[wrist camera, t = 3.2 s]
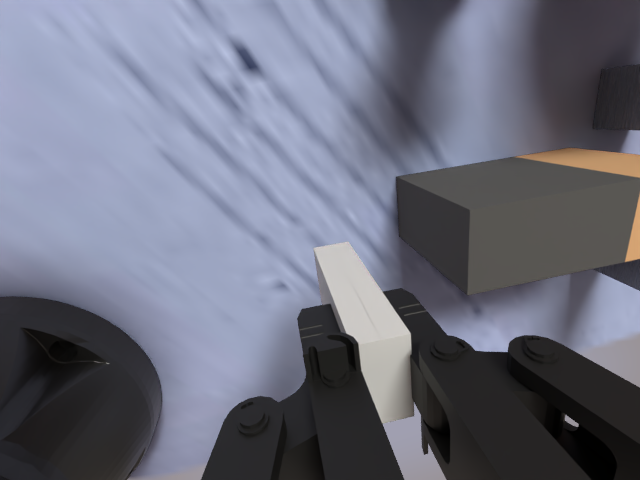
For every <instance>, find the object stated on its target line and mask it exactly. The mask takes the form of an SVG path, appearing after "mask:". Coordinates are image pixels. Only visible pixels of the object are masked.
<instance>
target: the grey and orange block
mask: <svg viewBox="0 0 640 480" xmlns="http://www.w3.org/2000/svg"><path fill="white" fill-rule="evenodd" d="M396 181H397V201H398V222H399V237H401V238H402V239H403V240H404V241H405V242H406V243H407V244H409V245H410V246H411V247H412V248H413V249H414V250H416V251H417V252H418V253H419V254H420V255H421V256H422V257H424V258H425V259H426V260H427V261H428V262H429V263H431V264H432V265H433V266H434V267H435V268H436V269H437V270H439V271H440V272H441V273H442V274H443V275H444V276H446V277H447V278H448V279H449V280H450V281H451V282H452V283H454V284H455V285H456V286H457V287H458V288H459V289H461V290H462V291H463V292H464V293H465V294H466V295H472V294H477V293H481V292H486V291H491V290H495V289H500V288H505V287H510V286H514V285H519V284H524V283H528V282H533V281H538V280H542V279H547V278H552V277H557V276H561V275H566V274H571V273H575V272H580V271H585V270H589V269H594V268H599V267H604V266H608V265H613V264H618V263H622V262H627V261H632V260H637V259H640V155H635V154H626V153H616V152H607V151H598V150H588V149H579V148H564V149H558V150H552V151H546V152H540V153H534V154H528V155H522V156H516V157H510V158H504V159H498V160H492V161H487V162H481V163H475V164H469V165H463V166H457V167H451V168H445V169H439V170H433V171H427V172H421V173H415V174H409V175H403V176H397V177H396Z"/></svg>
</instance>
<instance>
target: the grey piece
mask: <svg viewBox="0 0 640 480" xmlns="http://www.w3.org/2000/svg"><path fill="white" fill-rule="evenodd" d="M593 129H617V130H640V64H636V65H629V66H622V67H615V68H608V69H602V71H601V78H600V84H599V91H598V98H597V104H596V111H595V117H594V124H593ZM594 270H596V271H598V272H600V273H602V274H605V275H607V276H609V277H611V278H613V279H615V280H618V281H620V282H622V283H624V284H626V285H628V286H631V287H633V288H635V289H637V290H639V291H640V259H637V260H632V261H627V262H622V263H618V264H613V265H608V266H604V267H599V268H594Z"/></svg>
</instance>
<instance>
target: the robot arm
mask: <svg viewBox="0 0 640 480" xmlns="http://www.w3.org/2000/svg"><path fill="white" fill-rule="evenodd" d="M314 255H315V262H316V269H317V275H318V282H319V289H320V295H321V302H322V305H320V306H315V307H310V308H305V309H302V310H301V312H300V314H299V316H298V318H297V320H298V326H299V331H300V337H301V343H302V349H303V357H304V363H305V368H306V378H305V381H304V383H303V384H302V386H301V388H300V389H299V390H297V391H296V392H295V393H294V394H293V395H291V396H290V397H288V398H286V399H284V400H282V401H281V402H279V403H278V402H277V401H275V400H274V399H272V398H270V397H262V396H259V397H254V398H249V399H247V400H245V401H243V402H241V403H239V404H238V405H237V406H236V407H234V408H233V409H232V410H231V411H230V412H229V414H228V415H227V417H226V419H225V420H224V422H223V425H222V427H221V430H220V433H219V435H218V438H217V440H216V443H215V445H214V448H213V450H212V453H211V456H210V458H209V461H208V463H207V466H206V468H205V471H204V474H203V477H202V479H201V480H404V478H403V475H402V473H401V470H400V468H399V465H398V463H397V460H396V458H395V455H394V453H393V450H392V448H391V445H390V442H389V440H388V437H387V435H386V432H385V430H384V427H383V423H387V422H391V421H396V420H399V419H404V418H407V417H412V416H414V402H415V404H416V406H417V408H418V410H419V412H420V414H421V432H422V448H423V452H424V455H425V454H428V444H429V446H430V447H431V450H432V452H433V454H434V456H435V458H436V460H437V462H438V464H439V465H440V467H441V469H442V472H443V473H444V475H445V477H446V479H447V480H640V388H639V387H637V386H636V385H634V384H632V383H630V382H629V381H627V380H625V379H623V378H621V377H620V376H618V375H616V374H614V373H612V372H611V371H609V370H607V369H605V368H603V367H602V366H600V365H598V364H596V363H594V362H593V361H591V360H589V359H587V358H585V357H583V356H582V355H580V354H578V353H576V352H574V351H573V350H571V349H569V348H567V347H565V346H564V345H562V344H560V343H558V342H556V341H553V340H551V339H548V338H544V337H540V336H528V335H524V336H520V337H516V338H514V339H513V340H512V341H511V342H510V343H509V347H508V352H482V351H475V350H474V349H473V348H472V347H471V346H470V345H469V344H468V343H467V342H465V341H464V340H462V339H459V338H457V337H454V336H448V335H447V334H446V333H445V332H444V331H443V330H442V328H441V327H440V326H439V325H438V324H437V323H436V321H435V320H434V319H433V318H432V317H431V315H430V314H429V313H428V312H426V309H425V308H424V307H423V306H422V305H421V304H420V302H419V301H418V300H417V299H416V298H415V296H414V295H413V294H411V293H409V292H407V291H405V290H403V289H402V288H400V289H395V290H390V291H385V292H382V291H381V289H380V288H379V286H378V285H377V283H376V282H375V280H374V279H373V277H372V276H371V274H370V273H369V272H368V270H367V269H366V267H365V266H364V264H363V263H362V261H361V260H360V258H359V257H358V255H357V254H356V252H355V251H354V249H353V248H352V247H351V245H350V244H349V242H343V243H338V244H332V245H327V246H322V247H316V248H314ZM161 401H162V397H161V387H160V383H159V379H158V376H157V373H156V371H155V369H154V367H153V365H152V363H151V361H150V360H149V358H148V357H147V355H146V354H145V353H144V351H143V350H142V349H141V348H140V347H139V345H138V344H137V343H136V342H135V341H134V340H133V339H131V338H130V337H129V336H128V335H127V334H126V333H124V332H123V331H122V330H121V329H119V328H118V327H116V326H115V325H113V324H112V323H110V322H108V321H107V320H105V319H103V318H101V317H99V316H97V315H95V314H93V313H91V312H88V311H86V310H83V309H81V308H78V307H75V306H72V305H69V304H65V303H61V302H57V301H52V300H47V299H40V298H32V297H0V480H127V479H128V478H129V476H130V475H131V474H132V473H133V472H134V470H135V469H136V468H137V466H138V465H139V464H140V462H141V461H142V459H143V457H144V455H145V453H146V451H147V449H148V447H149V445H150V442H151V439H152V436H153V433H154V430H155V427H156V424H157V421H158V418H159V415H160V410H161ZM565 414H566V415H567V416H569V417H570V418H571V419H573V420H574V421H575V422H577V423H578V424H579V427H575V426H572V425H571V424H569V423H567V422H566V421H565Z"/></svg>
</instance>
